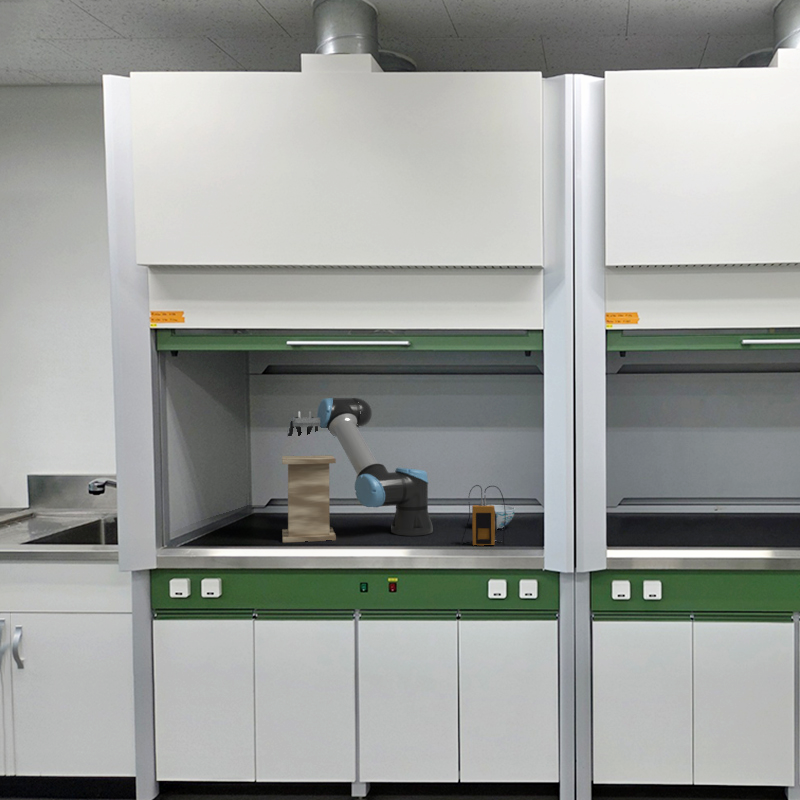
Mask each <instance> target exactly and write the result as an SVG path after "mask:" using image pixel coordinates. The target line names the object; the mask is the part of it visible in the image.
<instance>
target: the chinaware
mask: <svg viewBox="0 0 800 800" xmlns="http://www.w3.org/2000/svg"><path fill="white" fill-rule="evenodd" d="M492 505H493V506H494V507H495V514H496V520H497V529H498V528H503V527H504V522H505V527H506V526H507V525H509V523H510V522H511V521H512V520H513V519H514V516H515V512H516V507H514V506H511V505H506V504H505V509H504V504H492ZM505 513H506V517H505Z"/></svg>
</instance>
